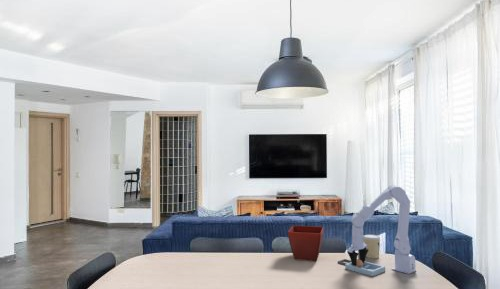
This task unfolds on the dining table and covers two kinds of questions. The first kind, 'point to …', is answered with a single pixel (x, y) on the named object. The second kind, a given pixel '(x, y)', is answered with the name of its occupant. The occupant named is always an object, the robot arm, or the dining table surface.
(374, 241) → the coffee cup
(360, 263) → the ball
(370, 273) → the tray
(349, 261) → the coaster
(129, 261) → the dining table surface
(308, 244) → the plant pot
